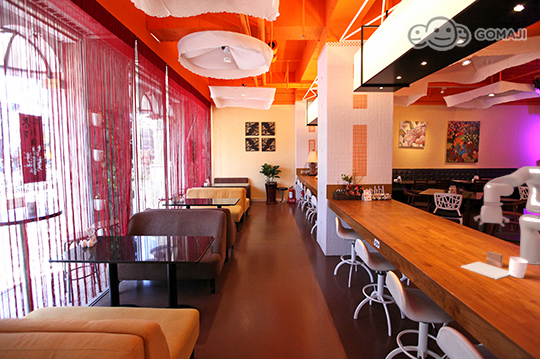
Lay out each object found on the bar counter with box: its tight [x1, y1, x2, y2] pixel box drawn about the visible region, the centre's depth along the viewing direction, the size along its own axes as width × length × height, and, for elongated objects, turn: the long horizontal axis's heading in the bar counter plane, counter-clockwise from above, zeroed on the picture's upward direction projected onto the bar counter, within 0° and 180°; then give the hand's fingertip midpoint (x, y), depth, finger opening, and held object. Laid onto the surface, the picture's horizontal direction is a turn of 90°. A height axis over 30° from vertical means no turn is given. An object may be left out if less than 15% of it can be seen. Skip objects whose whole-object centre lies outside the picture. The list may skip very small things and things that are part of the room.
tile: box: [485, 250, 504, 269], centre depth 174 cm, size 2×8×8 cm, turn 22°
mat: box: [460, 261, 511, 281], centre depth 167 cm, size 18×20×1 cm
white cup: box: [508, 256, 529, 279], centre depth 157 cm, size 8×8×10 cm
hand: (490, 231), depth 165 cm, fingers open, 9 cm apart
